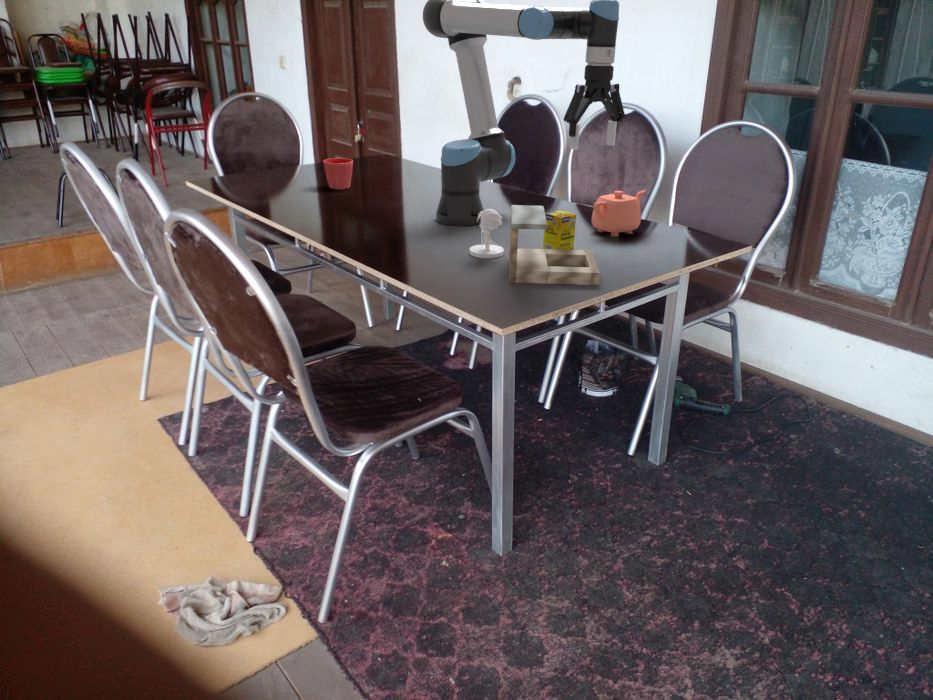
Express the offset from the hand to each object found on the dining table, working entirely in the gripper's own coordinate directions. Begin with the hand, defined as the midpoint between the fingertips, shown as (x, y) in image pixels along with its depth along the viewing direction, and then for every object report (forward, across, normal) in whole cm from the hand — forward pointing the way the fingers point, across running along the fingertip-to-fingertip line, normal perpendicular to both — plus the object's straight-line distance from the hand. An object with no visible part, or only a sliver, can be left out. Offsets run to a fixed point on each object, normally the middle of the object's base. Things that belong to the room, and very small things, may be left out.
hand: (592, 147), depth 194 cm
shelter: (+25, -30, -22) cm, 44 cm away
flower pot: (+25, -35, +95) cm, 104 cm away
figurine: (+25, -35, 0) cm, 43 cm away
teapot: (+25, +10, -3) cm, 27 cm away
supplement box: (+25, -19, -11) cm, 33 cm away
